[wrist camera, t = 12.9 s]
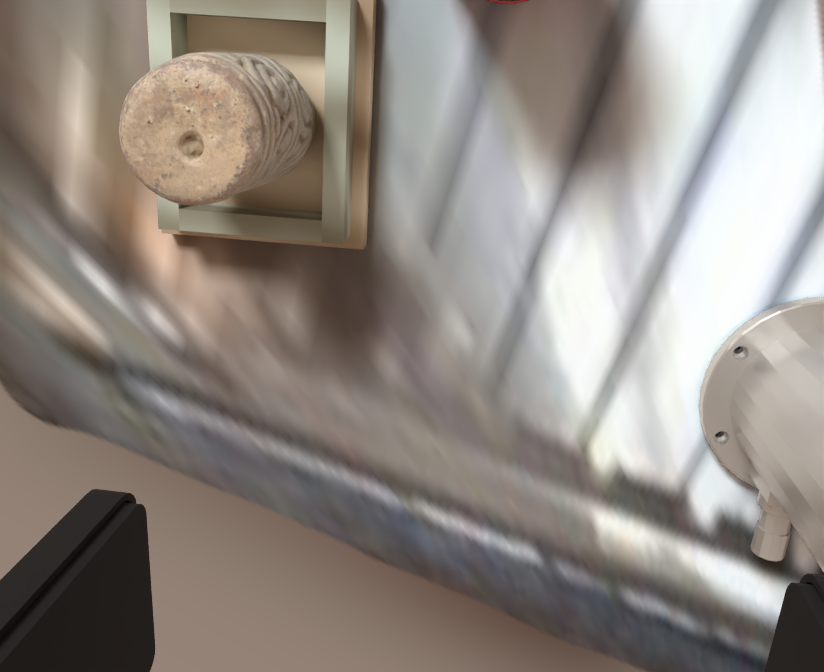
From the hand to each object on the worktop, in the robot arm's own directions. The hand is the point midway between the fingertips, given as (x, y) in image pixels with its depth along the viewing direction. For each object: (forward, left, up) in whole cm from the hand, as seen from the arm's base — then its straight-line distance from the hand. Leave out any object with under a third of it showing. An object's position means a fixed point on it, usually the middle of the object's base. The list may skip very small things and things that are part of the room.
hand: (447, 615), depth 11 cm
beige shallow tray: (+4, +12, -35) cm, 37 cm away
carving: (+4, +12, -34) cm, 36 cm away
